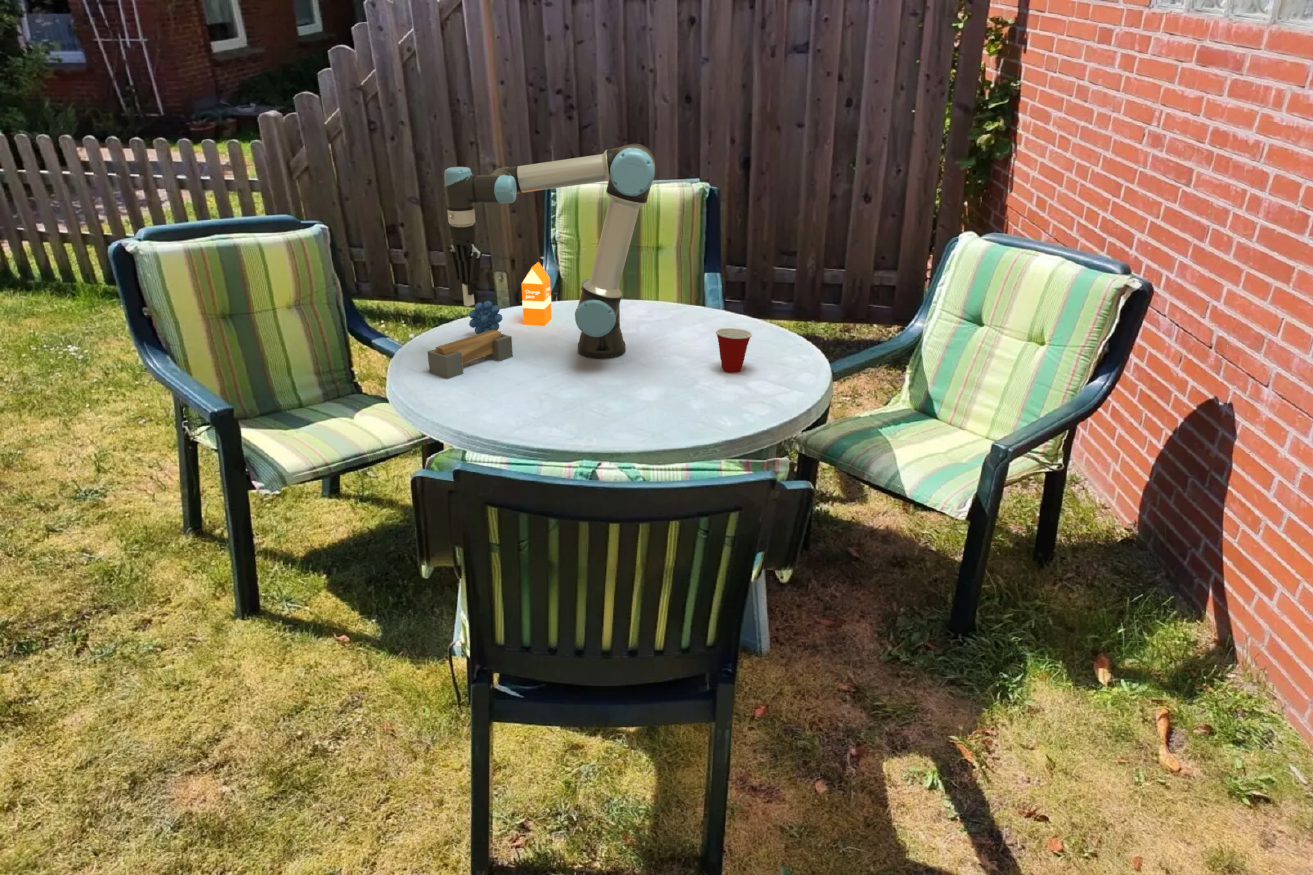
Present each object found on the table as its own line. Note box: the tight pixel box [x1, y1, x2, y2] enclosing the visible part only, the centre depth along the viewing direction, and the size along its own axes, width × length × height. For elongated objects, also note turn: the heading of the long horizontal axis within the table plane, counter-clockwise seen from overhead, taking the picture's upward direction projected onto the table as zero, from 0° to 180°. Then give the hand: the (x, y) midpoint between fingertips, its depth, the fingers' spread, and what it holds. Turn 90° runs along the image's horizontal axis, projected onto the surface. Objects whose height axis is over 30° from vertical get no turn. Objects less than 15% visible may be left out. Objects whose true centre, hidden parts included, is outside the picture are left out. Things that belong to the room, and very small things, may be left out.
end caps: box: [427, 333, 514, 380], centre depth 270 cm, size 8×25×6 cm, turn 141°
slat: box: [435, 330, 502, 364], centre depth 269 cm, size 4×22×6 cm, turn 141°
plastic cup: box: [715, 327, 753, 374], centre depth 266 cm, size 11×11×12 cm
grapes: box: [468, 300, 503, 335], centre depth 295 cm, size 12×7×12 cm, turn 78°
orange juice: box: [521, 261, 553, 327], centre depth 307 cm, size 8×9×20 cm
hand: (469, 304), depth 264 cm, fingers closed
